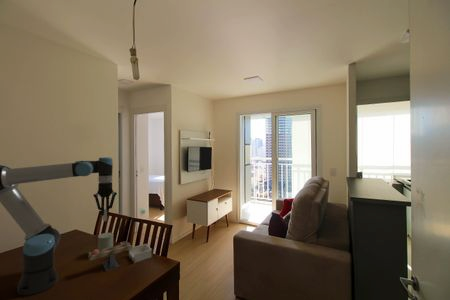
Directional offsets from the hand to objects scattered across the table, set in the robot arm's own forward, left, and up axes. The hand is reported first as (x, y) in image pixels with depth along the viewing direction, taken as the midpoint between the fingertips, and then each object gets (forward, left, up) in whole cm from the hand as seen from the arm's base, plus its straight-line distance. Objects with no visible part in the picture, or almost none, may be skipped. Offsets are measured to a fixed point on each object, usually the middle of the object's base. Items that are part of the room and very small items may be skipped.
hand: (104, 220), depth 131 cm
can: (+3, +10, -25) cm, 27 cm away
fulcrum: (+2, -10, -24) cm, 26 cm away
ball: (-6, -10, -16) cm, 20 cm away
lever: (+2, -6, -18) cm, 19 cm away
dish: (+19, -10, -24) cm, 32 cm away
